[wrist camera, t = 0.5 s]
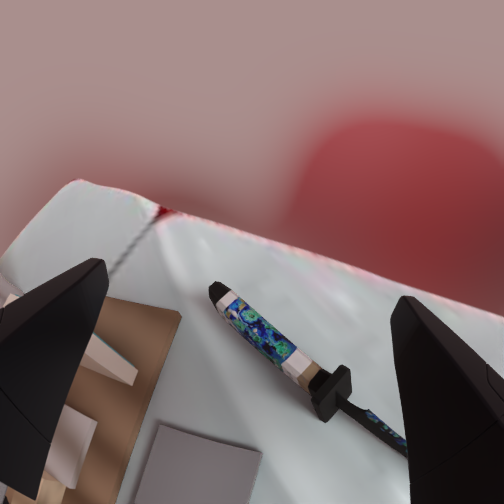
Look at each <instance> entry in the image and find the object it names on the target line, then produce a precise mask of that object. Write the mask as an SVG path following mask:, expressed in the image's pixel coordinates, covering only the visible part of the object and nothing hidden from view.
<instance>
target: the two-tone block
mask: <svg viewBox="0 0 504 504" xmlns="http://www.w3.org/2000/svg"><path fill="white" fill-rule="evenodd" d="M96 425H97V421H95V420H93V419H91V418H89V417H87V416H85V415H83V414H82V413H80V412H78V411H76V410H74V409H73V408H71V407H69V406H67V405H66V404H64V407H63V410H62V412H61V415H60V418H59V421H58V424H57V427H56V430H55V433H54V437H53V440H52V443H50V444H51V447H50V450H49V453H48V457H47V460H46V464H45V467H44V471H43V475H42V479H41V482H40V486H39V490H38V495H37V498H36V501H34V500H32V499H30V498H28V497H26V496H25V495H23V494H21V493H19V492H17V491H15V490H14V494H13V498H12V502H11V504H61V502H62V499H63V495H64V492H65V489H66V486H67V487H68V488H71V489H75V488H76V484H77V481H78V478H79V475H80V472H81V469H82V466H83V463H84V460H85V457H86V454H87V451H88V448H89V445H90V442H91V439H92V436H93V433H94V431H95V428H96Z"/></svg>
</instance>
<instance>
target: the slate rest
mask: <svg viewBox="0 0 504 504" xmlns="http://www.w3.org/2000/svg"><path fill="white" fill-rule="evenodd" d="M262 455H263V453H261V452H256V451H251V450H247V449H243V448H238V447H234V446H230V445H226V444H222V443H219V442H215V441H211V440H208V439H204V438H201V437H198V436H194V435H191V434H188V433H185V432H182V431H179V430H175V429H173V428H170V427H167V426H164V425H161V424H160V426H159V429H158V432H157V434H156V437H155V440H154V443H153V446H152V449H151V452H150V455H149V458H148V461H147V464H146V467H145V470H144V473H143V476H142V480H141V483H140V486H139V489H138V492H137V495H136V498H135V501H134V504H249V500H250V497H251V494H252V490H253V487H254V483H255V480H256V476H257V473H258V469H259V466H260V462H261V458H262Z"/></svg>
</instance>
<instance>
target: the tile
mask: <svg viewBox="0 0 504 504" xmlns="http://www.w3.org/2000/svg"><path fill="white" fill-rule="evenodd" d="M19 297H21V296H19V295H16V294H15V295H13V294H11V293H10V295H9V296H8V298H7V300H6V302H5V304H4V305H3V307H4V308H5V306H6V305H7V304H9V303H11V302H12V301H14V300H16V299H17V298H19ZM80 365H81V366H84V367H86V368H88V369H91V370H93V371H95V372H98V373H100V374H103V375H105V376H107V377H110V378H112V379H115V380H118V381H120V382H123V383H125V384H128V385H131V386H132V385H133V383H134V380H135V377H136V375H137V372H138V370H137V369H136V368H135V367H134V365H133V364H131V363H130V362H129V361H128V360H126V359H125V358H124V357H123V356H121V355H120V354H119V353H118V352H116V351H115V350H114V349H113V348H112V347H110V346H109V345H108V344H107V343H106V342H104V341H103V340H102V339H101V338H100V337H99V336H98V335H96V334H95V333H94V332H93V334H92V336H91V339H90V341H89V343H88V345H87V348H86V350H85V353H84V355H83V357H82V360H81V362H80Z"/></svg>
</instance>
